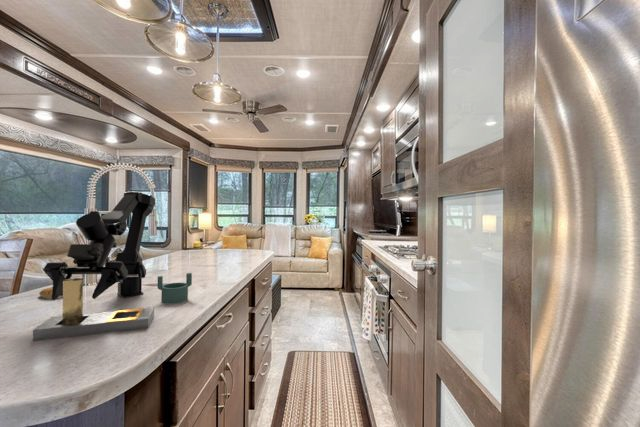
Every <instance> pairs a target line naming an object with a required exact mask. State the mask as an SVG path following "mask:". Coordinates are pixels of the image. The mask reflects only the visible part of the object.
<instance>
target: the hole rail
mask: <svg viewBox="0 0 640 427" xmlns="http://www.w3.org/2000/svg"><path fill="white" fill-rule="evenodd" d="M154 318H155V307H151V308H144V307H142V308H131V309H121V310H115V311H105V312H94V313H83V322H82V323H75V324H65V325H62V321H63V315H59V316H51V317H50V318H48V319H47V320H45V321H44V322H43V323H42V322H41V324H39V325H38V326H36V327H35V328H34V329H32V341H40V340H42V341H43V340H49V339H50V340H51V339H60V338H68V337H69V338H70V337H77V336H85V335H87V336H88V335H96V334H97V335H98V334H107V333H115V332H123V331H133V330H142V329H149V327H150V325H151V323H152V322H153V319H154Z"/></svg>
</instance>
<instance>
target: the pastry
mask: <svg viewBox="0 0 640 427" xmlns="http://www.w3.org/2000/svg"><path fill="white" fill-rule="evenodd" d="M52 289H53V286H52V287H47V288H45V289H42V290H40V292H39V296H40V297H41V298H43V299H46V300H53V299H52ZM58 299H63V291H62V293H61V294H60V295H59V297H58V298H57V299H56V300H58Z"/></svg>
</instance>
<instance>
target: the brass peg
mask: <svg viewBox="0 0 640 427" xmlns="http://www.w3.org/2000/svg"><path fill="white" fill-rule="evenodd" d="M83 301H84V278H82V277H75V278H70V279H67V280H63V297H62V316H63V321H62V325H65V324H75V323H82V322H83V314H84V312H83V310H84V307H83V306H84V305H83V304H84V302H83Z"/></svg>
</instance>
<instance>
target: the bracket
mask: <svg viewBox="0 0 640 427" xmlns="http://www.w3.org/2000/svg"><path fill="white" fill-rule="evenodd" d="M192 273H193V272H188V273H186V276H185V277H186V281H185V282H171V283H167V284H163V282H164V281H163V278H164V277H163V275H158V276H157V289H158V290H159V291H161V298H160V299H161V303H162V304H165V305H166V304H169V305H171V304H172V305H173V304H179V303H180V304H181V303H183V302H186V301H188V299H189V287H191V286H192V282H193V278H192V276H193V274H192Z"/></svg>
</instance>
